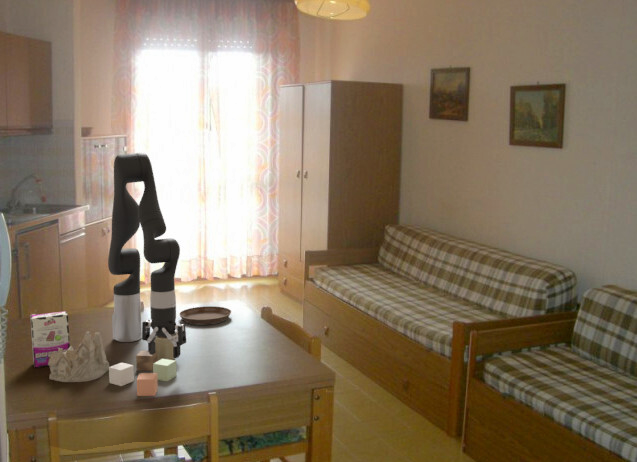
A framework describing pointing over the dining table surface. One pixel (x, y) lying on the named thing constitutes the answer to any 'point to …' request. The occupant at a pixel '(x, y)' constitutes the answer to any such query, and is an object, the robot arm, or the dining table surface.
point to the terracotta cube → (147, 384)
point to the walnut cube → (145, 360)
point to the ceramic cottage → (80, 361)
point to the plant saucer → (205, 315)
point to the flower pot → (164, 348)
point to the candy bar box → (48, 336)
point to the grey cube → (121, 374)
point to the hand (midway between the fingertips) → (164, 355)
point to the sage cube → (165, 369)
